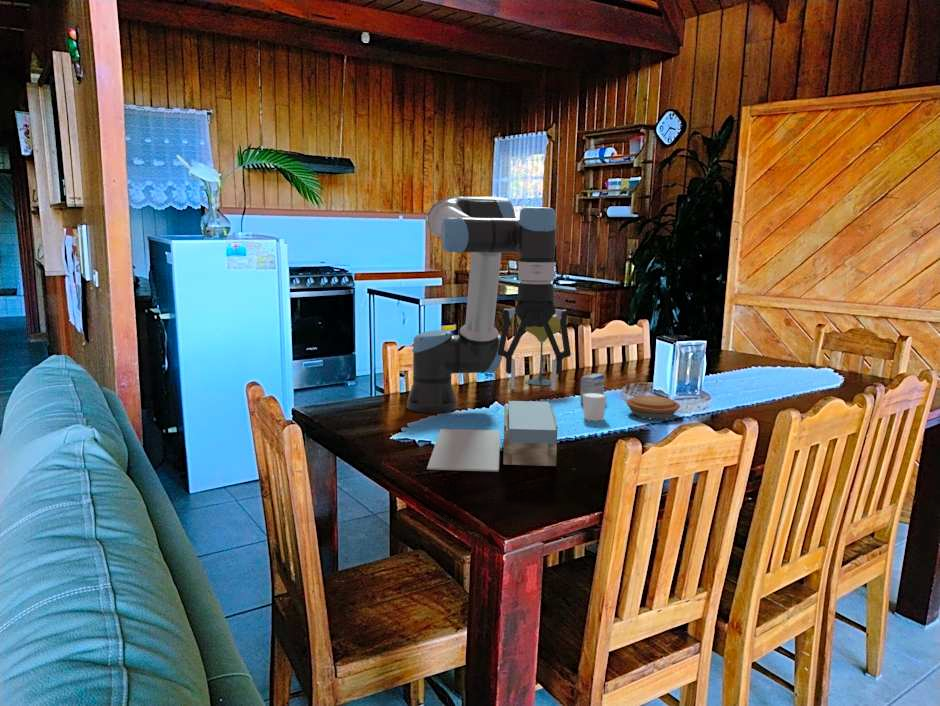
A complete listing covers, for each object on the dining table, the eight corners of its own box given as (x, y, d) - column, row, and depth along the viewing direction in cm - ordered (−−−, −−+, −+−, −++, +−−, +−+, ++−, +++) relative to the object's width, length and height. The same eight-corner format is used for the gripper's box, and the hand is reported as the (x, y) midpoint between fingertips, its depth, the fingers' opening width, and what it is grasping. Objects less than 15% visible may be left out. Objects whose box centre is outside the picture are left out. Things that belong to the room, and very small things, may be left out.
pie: (619, 409, 211) (619, 393, 210) (668, 408, 212) (669, 393, 211) (634, 422, 196) (635, 405, 195) (687, 422, 197) (688, 405, 196)
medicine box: (592, 405, 215) (593, 378, 214) (579, 403, 218) (580, 376, 216) (603, 400, 221) (604, 374, 220) (591, 398, 224) (592, 372, 222)
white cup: (606, 416, 201) (607, 393, 200) (604, 422, 195) (605, 398, 193) (583, 414, 203) (584, 391, 202) (580, 420, 196) (581, 396, 195)
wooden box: (503, 464, 157) (504, 425, 155) (503, 439, 176) (504, 404, 175) (556, 466, 156) (557, 426, 155) (550, 440, 176) (551, 405, 174)
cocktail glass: (506, 380, 251) (507, 312, 247) (547, 376, 260) (549, 310, 256) (533, 390, 236) (535, 317, 232) (575, 385, 244) (578, 315, 240)
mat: (427, 469, 153) (426, 467, 153) (440, 430, 184) (440, 428, 184) (498, 471, 152) (498, 469, 152) (500, 431, 183) (500, 430, 183)
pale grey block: (508, 442, 146) (509, 428, 146) (508, 412, 172) (508, 400, 171) (555, 443, 146) (556, 430, 145) (548, 413, 171) (548, 401, 171)
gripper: (485, 282, 141) (483, 391, 144) (588, 284, 139) (583, 393, 143) (486, 280, 148) (485, 383, 152) (584, 282, 147) (579, 385, 151)
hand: (532, 388), depth 147 cm, fingers open, 8 cm apart
